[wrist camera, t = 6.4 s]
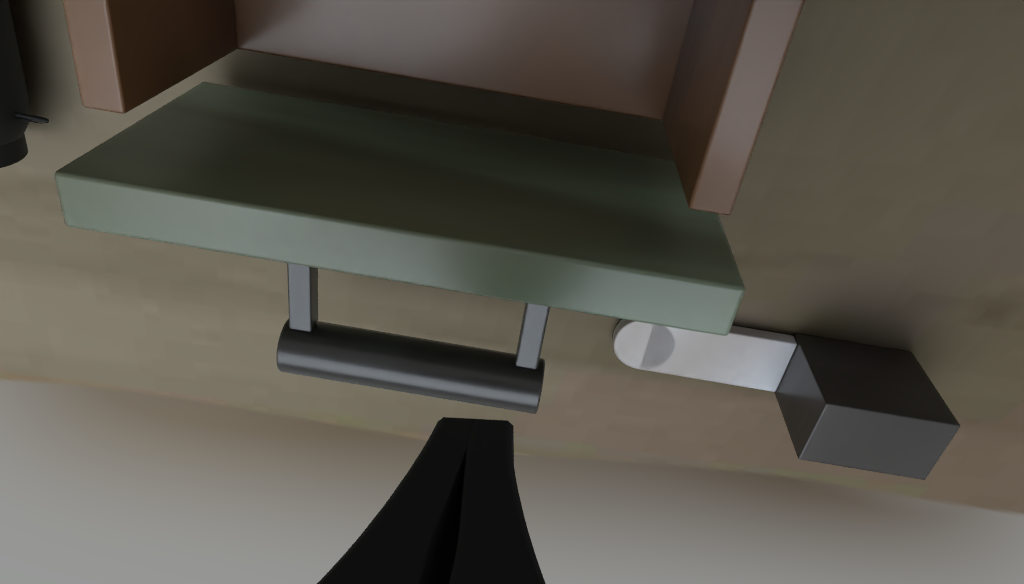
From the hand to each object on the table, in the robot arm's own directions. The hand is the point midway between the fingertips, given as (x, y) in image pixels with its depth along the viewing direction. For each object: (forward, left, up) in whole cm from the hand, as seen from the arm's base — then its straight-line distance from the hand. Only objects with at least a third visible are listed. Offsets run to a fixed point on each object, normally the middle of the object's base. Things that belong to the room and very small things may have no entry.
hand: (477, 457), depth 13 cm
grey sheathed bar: (-8, +3, -9) cm, 13 cm away
